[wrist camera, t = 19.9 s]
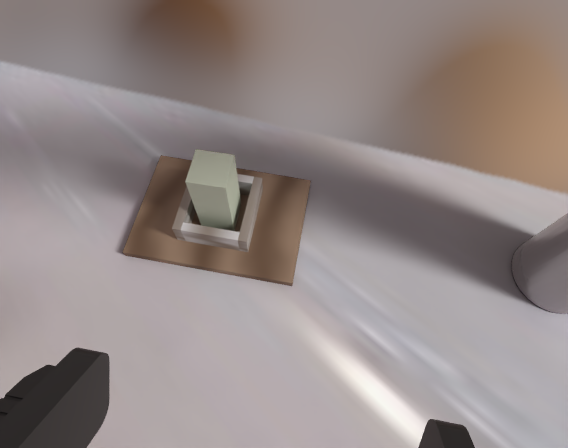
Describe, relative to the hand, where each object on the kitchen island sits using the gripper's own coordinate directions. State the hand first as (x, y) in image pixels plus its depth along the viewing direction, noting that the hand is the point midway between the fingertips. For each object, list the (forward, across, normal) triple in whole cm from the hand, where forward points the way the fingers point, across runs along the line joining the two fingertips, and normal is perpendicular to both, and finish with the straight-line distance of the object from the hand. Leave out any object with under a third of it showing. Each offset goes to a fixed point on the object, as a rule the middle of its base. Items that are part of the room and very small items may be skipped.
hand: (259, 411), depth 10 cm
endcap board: (+38, +10, +8) cm, 40 cm away
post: (+37, +10, +8) cm, 39 cm away
